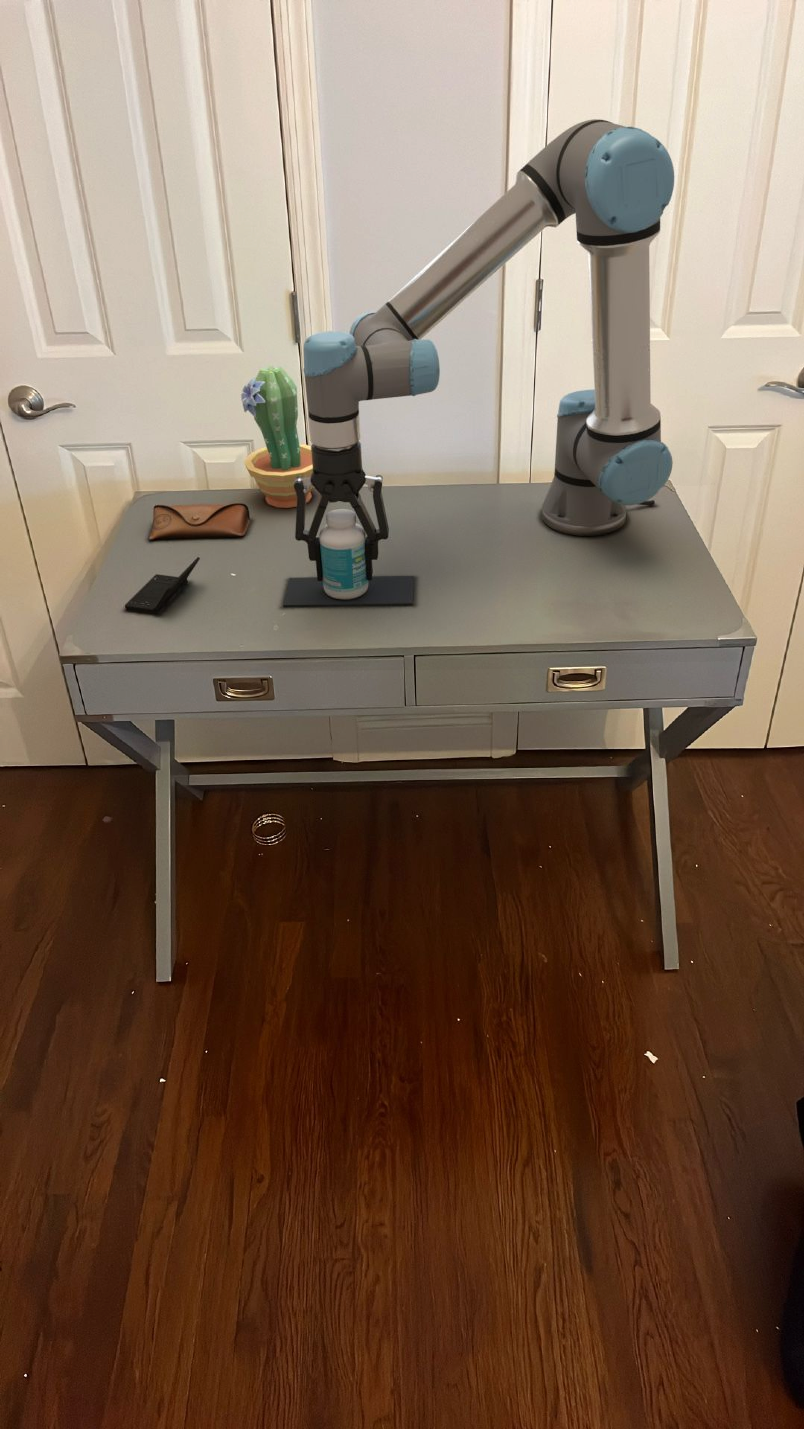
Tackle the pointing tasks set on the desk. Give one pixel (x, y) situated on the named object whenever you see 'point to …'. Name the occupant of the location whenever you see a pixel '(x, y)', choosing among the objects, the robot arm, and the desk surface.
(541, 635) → the desk surface
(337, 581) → the pill bottle
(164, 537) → the sunglasses case
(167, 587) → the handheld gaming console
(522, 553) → the desk surface
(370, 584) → the desk mat
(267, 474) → the potted cactus
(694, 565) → the desk surface
